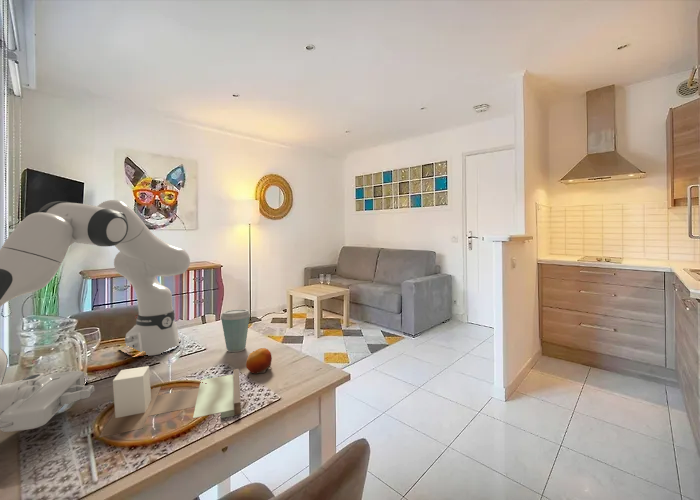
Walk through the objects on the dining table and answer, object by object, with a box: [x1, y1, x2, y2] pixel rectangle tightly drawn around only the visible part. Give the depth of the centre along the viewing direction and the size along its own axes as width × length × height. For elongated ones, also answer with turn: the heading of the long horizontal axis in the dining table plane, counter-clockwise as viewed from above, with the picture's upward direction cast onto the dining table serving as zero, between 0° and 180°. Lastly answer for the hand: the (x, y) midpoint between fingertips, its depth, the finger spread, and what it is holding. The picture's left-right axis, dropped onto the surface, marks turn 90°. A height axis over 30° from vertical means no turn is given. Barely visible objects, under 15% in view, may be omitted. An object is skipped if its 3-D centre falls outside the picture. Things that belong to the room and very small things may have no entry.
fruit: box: [245, 347, 273, 375], centre depth 101 cm, size 8×8×8 cm
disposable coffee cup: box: [220, 308, 251, 353], centre depth 119 cm, size 11×11×15 cm
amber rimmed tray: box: [98, 368, 242, 438], centre depth 81 cm, size 28×20×3 cm
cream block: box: [112, 365, 151, 418], centre depth 77 cm, size 6×6×9 cm
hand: (91, 390), depth 74 cm, fingers closed
